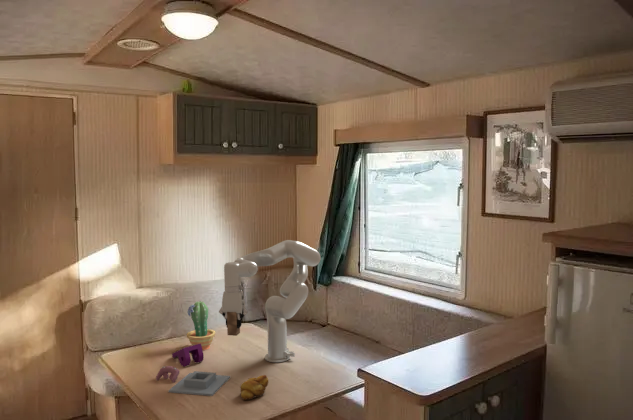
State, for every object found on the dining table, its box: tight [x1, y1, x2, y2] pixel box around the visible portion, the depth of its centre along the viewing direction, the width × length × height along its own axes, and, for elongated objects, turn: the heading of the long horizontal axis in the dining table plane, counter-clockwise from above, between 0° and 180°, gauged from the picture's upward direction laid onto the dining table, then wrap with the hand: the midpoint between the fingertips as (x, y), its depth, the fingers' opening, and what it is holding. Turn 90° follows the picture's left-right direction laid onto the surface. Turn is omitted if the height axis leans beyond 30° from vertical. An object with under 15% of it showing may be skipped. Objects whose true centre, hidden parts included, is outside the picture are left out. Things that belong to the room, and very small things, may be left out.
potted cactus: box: [186, 300, 216, 351], centre depth 275 cm, size 15×15×25 cm
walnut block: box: [226, 312, 241, 336], centre depth 240 cm, size 4×4×11 cm
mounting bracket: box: [171, 344, 205, 368], centre depth 255 cm, size 9×8×18 cm
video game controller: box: [155, 365, 180, 384], centre depth 232 cm, size 10×5×7 cm, turn 71°
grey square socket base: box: [168, 370, 231, 397], centre depth 226 cm, size 20×20×4 cm
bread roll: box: [239, 374, 269, 401], centre depth 214 cm, size 13×10×8 cm
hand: (233, 326), depth 240 cm, fingers closed on walnut block, 4 cm apart
